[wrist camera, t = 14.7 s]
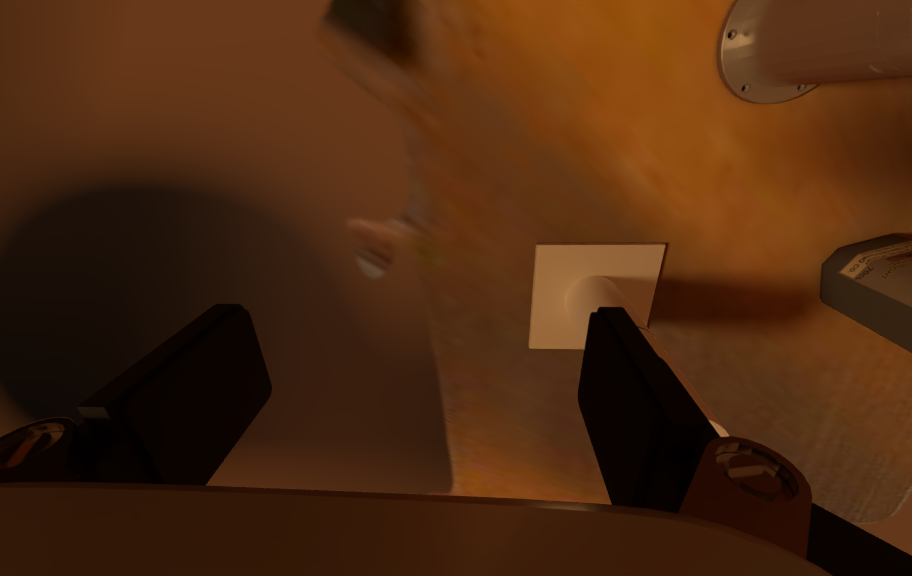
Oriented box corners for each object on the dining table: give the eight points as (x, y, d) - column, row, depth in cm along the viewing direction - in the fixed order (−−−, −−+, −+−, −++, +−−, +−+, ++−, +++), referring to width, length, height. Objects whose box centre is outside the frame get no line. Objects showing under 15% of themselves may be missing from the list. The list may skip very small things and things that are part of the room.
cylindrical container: (605, 266, 48) (713, 403, 26) (627, 307, 51) (742, 465, 28) (555, 291, 50) (615, 438, 28) (578, 330, 53) (650, 494, 30)
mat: (662, 242, 47) (665, 244, 47) (639, 346, 54) (641, 350, 54) (536, 243, 48) (536, 245, 48) (528, 345, 55) (529, 348, 55)
